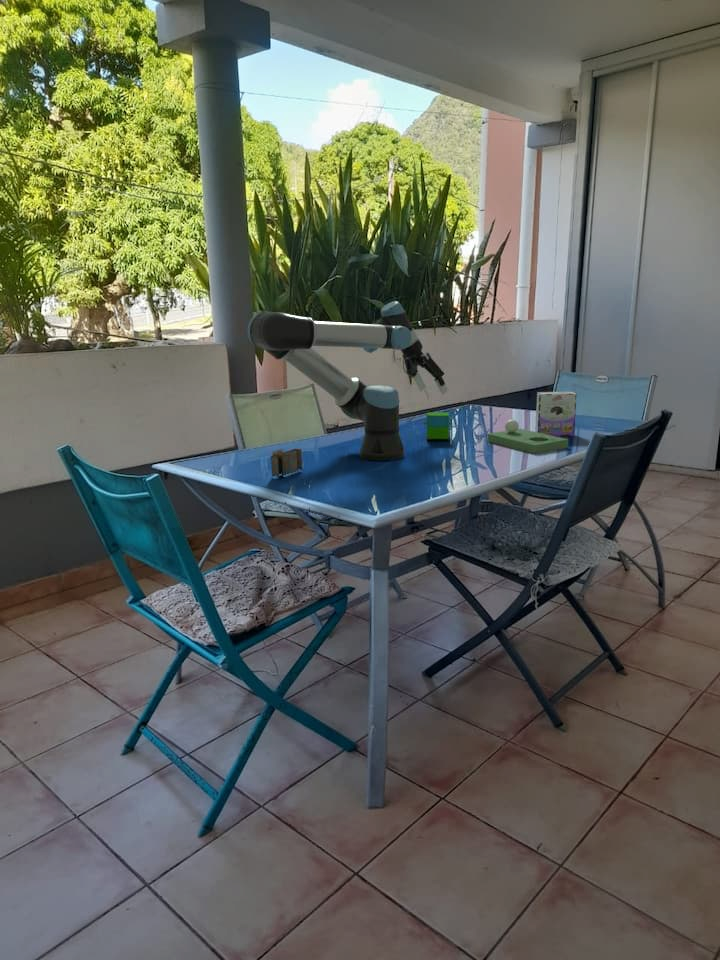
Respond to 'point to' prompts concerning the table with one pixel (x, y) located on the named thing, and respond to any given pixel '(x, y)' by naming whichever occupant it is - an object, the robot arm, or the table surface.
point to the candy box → (556, 413)
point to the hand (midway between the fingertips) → (434, 390)
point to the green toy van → (437, 426)
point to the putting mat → (528, 441)
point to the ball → (511, 426)
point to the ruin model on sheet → (286, 461)
